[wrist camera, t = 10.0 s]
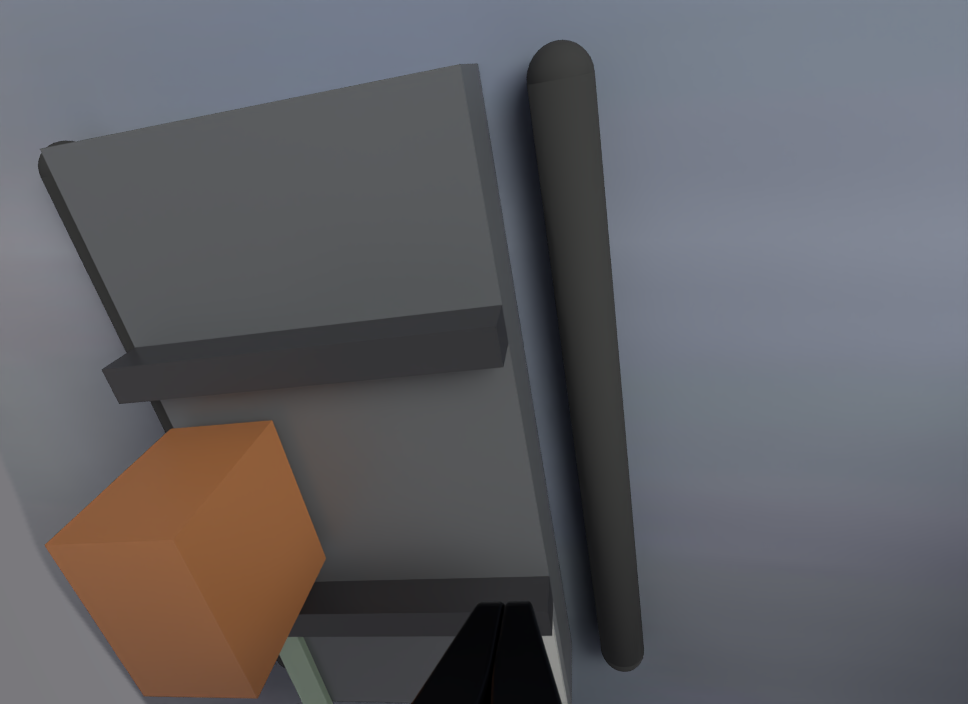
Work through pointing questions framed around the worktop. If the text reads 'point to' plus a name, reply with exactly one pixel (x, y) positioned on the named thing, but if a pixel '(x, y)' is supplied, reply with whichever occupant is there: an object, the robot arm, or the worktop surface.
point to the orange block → (196, 560)
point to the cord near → (588, 331)
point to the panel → (343, 351)
